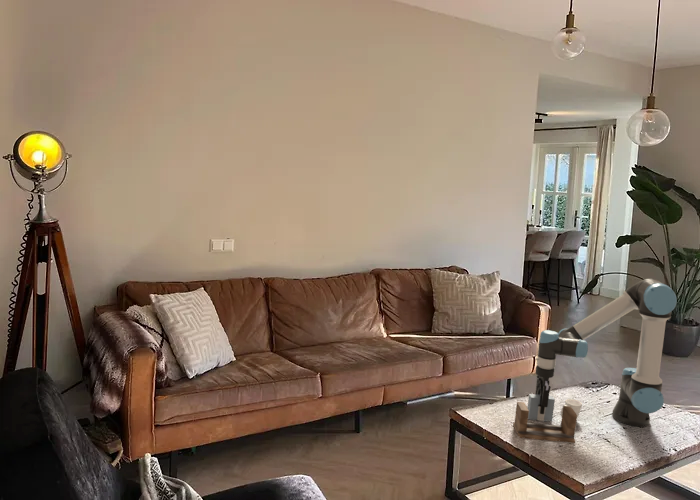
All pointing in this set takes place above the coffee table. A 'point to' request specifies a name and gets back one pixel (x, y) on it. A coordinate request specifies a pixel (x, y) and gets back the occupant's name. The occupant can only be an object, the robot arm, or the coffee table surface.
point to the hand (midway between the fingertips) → (539, 417)
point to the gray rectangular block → (533, 406)
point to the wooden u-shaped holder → (545, 426)
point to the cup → (573, 406)
